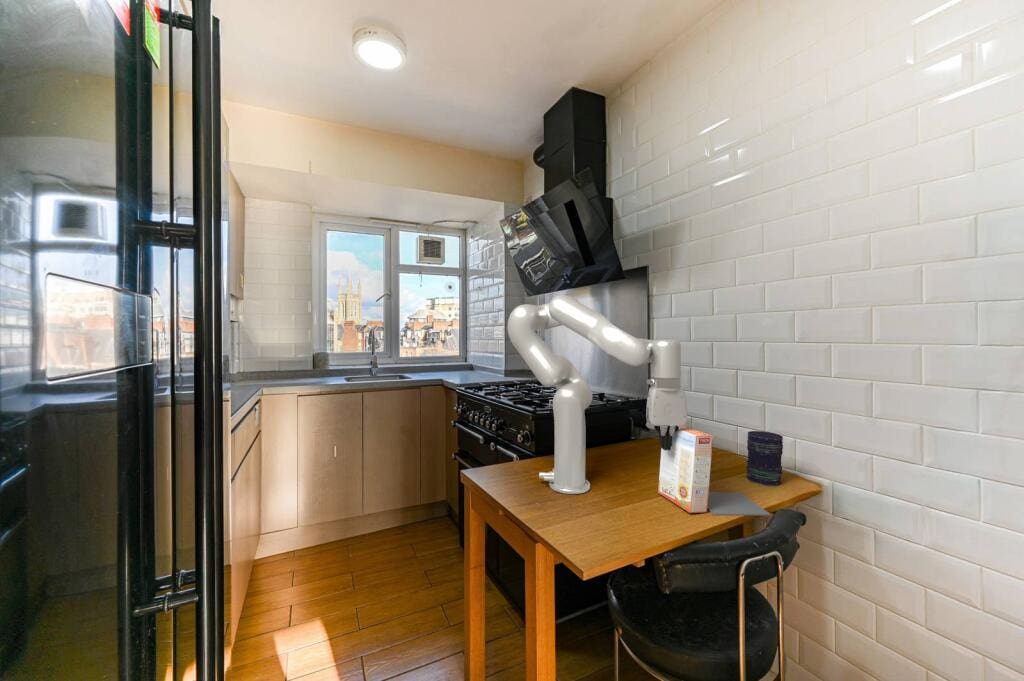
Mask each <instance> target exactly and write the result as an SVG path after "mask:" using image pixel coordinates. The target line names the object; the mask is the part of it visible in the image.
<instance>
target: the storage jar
mask: <svg viewBox="0 0 1024 681" xmlns="http://www.w3.org/2000/svg"><path fill="white" fill-rule="evenodd" d="M783 438H784V437H783V435H780V434H778V433H775V432H771V431H770V432H769V431H761V430H760V431H759V430H752V431H751V430H750V431H748V432H747V441H746V442H747V443H746V444H747V446H746V448H747V461H746V479H747V480H748V481H750V482H751V483H753V484H757V485H761V486H766V487H780V486H781V485H782V477H783V465H782V455H783V449H784V439H783Z"/></svg>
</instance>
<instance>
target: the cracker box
mask: <svg viewBox="0 0 1024 681" xmlns="http://www.w3.org/2000/svg"><path fill="white" fill-rule="evenodd" d="M664 427H665V433H666V429H667V426H664ZM713 439H714V437H713V435H711V434H709V433H706V432H704V431H700V430H698V429H694V428H692V427H688V426H686V427H685V428H683V429H678V430H677V431H676V432H675V433H674V435H673V436H672V446H671V450H664V449H662V448H660V449H661V450H660V460H659V461H660V462H659V474H658V475H659V477H658V487H657V493H658V494H659V495H660V496H661V497H662V496H663V497H664V498H666V499H667V500H668V501H670V502H672V503H673V504H675V505H676V506H677V507H679V508H681V509H683V510H685V512H687V513H689V514H698V513H707V512H708V509H707V505H708V493H709V492H710V478H711V464H712V455H713V454H712V453H713Z"/></svg>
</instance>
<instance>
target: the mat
mask: <svg viewBox="0 0 1024 681" xmlns="http://www.w3.org/2000/svg"><path fill="white" fill-rule="evenodd" d="M707 511H708V512H710V514H712V515H713V516H758V517H759V516H762V517H763V516H771V513H770V512H768V511H767V510H765V508H763V507H762V506H761V505H759V504H758V503H756V502H754V501H753V500H752V499H750V498H749V497H748V496H746V495H745V494H744V493H743V492H736V491H735V492H733V491H731V492H730V491H729V492H726V491H723V492H722V491H721V492H720V491H709V493H708V505H707Z"/></svg>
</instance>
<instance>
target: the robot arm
mask: <svg viewBox="0 0 1024 681" xmlns="http://www.w3.org/2000/svg"><path fill="white" fill-rule="evenodd" d="M561 326H564V327H565V328H566V329H569V330H570V331H572V332H574V333H576V334H578V335H579V336H581V337H583V338H584V339H586V340H588V342H590V343H592V344H593V345H595V346H596V347H598V348H600V349H601V351H604V352H605V353H607V354H609V355H610V356H612V357H614V358H615V359H617V360H618V361H621V362H623V363H624V364H625V365H628V366H631V367H639V366H642V365H644V364H651V376H650V378H649V379H646V385H650V387H649V389H648V394H647V400H646V410H645V411H646V413H645V415H646V416H645V417H646V424H645V426H646V428H648V429H650V430H655V431H656V432H657V433H658V434H659V436H658V437H659V439H658V440H659V447H661V448H662V449H664V450H671V446H672V436H673V435H674V433H675V432H676V431H677V430H678V429H683V428H685V427H687V423H688V406H687V398H686V393H685V389H684V388H682V387H681V386H682V385H681V384H682V383H681V382H682V381H681V380H682V379H681V376H682V374H681V373H682V367H681V365H682V359H681V358H682V357H681V355H682V354H681V353H682V346H681V345H682V344H681V341H679V340H678V339H674V338H673V339H671V338H669V339H667V338H666V339H665V338H663V339H662V338H661V339H649V338H648V339H647V338H640V337H639V338H637V337H635V336H633V335H631V334H629V333H628V332H626V331H624V330H622V329H621V328H619V327H618V326H615V325H614V324H613V323H612V322H610V320H608V318H607V317H606V316H605V315H603V314H601V313H600V312H598V311H596V310H594V309H592V308H590V307H588V306H587V305H585V304H583V303H582V302H580V301H579V300H578V299H577V298H576V297H573V296H570V295H565V294H559V295H557V296H554V297H553V298H552V299H551V300H550V302H548V303H544V304H540V305H536V304H529V303H528V304H526V303H525V304H520V305H518V306H516V307H515V308H514V309H513V310H512V311H511V312H510V315H509V318H508V320H507V334H508V338H509V340H510V342H511V344H512V345H513V347H514V348H515V349H516V351H517V352H518V353H519V355H520V356H521V357H522V359H523V361H524V362H525V364H526V365H527V366H528V367H529V369H530V370H531V371H532V373H533V374H534V376H535V378H536V379H537V381H539V383H540V384H541V385H543V386H545V387H548V388H549V387H554V388H556V391H555V392H554V395H553V398H552V411H553V420H554V422H553V424H554V447H553V449H554V451H553V452H554V455H553V456H554V458H553V460H554V461H553V462H554V463H553V465H554V466H553V467H554V468H552V471H548V472H545V471H539V472H538V478H539V479H543V481H544V482H545V481H547V482H548V485H549V487H550V489H551V490H553V491H555V492H558V493H561V494H567V495H578V494H579V495H580V494H584V493H587V492H588V491H589V490H590V489H591V483H590V481H588V479H586V449H587V448H586V445H587V444H586V442H587V438H586V437H587V436H586V434H587V433H586V432H587V431H586V429H587V428H586V427H587V426H586V416H585V410H586V409H588V407H590V405H591V403H592V401H593V391H592V389H591V387H590V385H589V384H588V382H587V381H586V380H585V379H584V378H583V376H582V374H580V372H579V370H578V369H577V367H575V366H574V364H573V363H572V362H571V361H570V360H569V359H568V358H566V357H565V356H563V355H561V354H560V355H558V354H557V355H556V354H554V353H553V352H552V351H551V349H550V348H549V347H548V346H547V344H546V342H545V341H544V340H543V339H542V338H541V337H540V336H539V335H538V334H537V333H536V332H539V331H544V330H548V329H553V328H556V327H561ZM664 426H667V429H666V433H665V427H664ZM661 448H660V449H661Z"/></svg>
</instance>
